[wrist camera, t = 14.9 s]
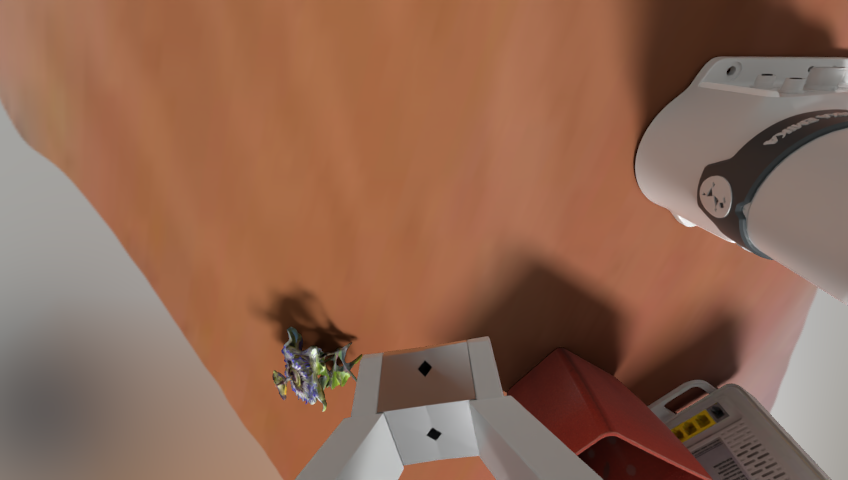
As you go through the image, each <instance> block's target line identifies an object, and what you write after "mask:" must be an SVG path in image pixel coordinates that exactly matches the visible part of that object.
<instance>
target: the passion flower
mask: <svg viewBox="0 0 848 480" xmlns="http://www.w3.org/2000/svg"><path fill="white" fill-rule="evenodd" d="M287 331H288V334H289V341H288V342H287V343H285V344H284V348H283V349H282V350H281V351H282V353H283V354H284V356H285V360H284V361H285V362H286V364H287V365H285V367H286V369H285V375H286V378H285V377H284V376H283V375H282V374H281V373H279V372H276V371H275V370H274V371H273V372H274V373H273V380H274V383H275V384H276V387H277V388H278V390H279V394H280V396H281V397H282V399H283V400H285V399H286V392H287V382H288V381H289V380H290V381H291V388H292V390H293V391H294V392H296V395H298V400H299V398H300V397H301V399H302V400H303V401H305V400H306V403H305V404H307V401H308V402H309V403H310V404H314V403H316V401H317V399H318V400H319V401H320V402H321V403H323V408H324V409H323V410H322V411H325V410H326V406H327V403H326V400H325V394H324V391H323V390H324V388H325V386H326V388H328V387H329V386H331V390H332V389H334V388H335V386H337V385H339V384H340V385H341V386H344V385H345V383H346V382H347V380H348V378H349V377H350V376H352V377H353V379H354V380H355V381H356V382H357V379H356V377H355V376H354V375H353V374H352V373H351V371H350V369H351V368H352V367H353V365H354V364H356V363H357V362H358V361H359V360H360V359H361V357H362V354H361V355H360V356H359V357H357V358H356V359H355V360H354V361H352V362H350V363H346V362H345V361H344V358H345V355H346V351H347V349H348V347H349V346H350V345H351V344H352V342H351V343H349V344H348V345H346V346H344V347H341V348H337V349H336V350H335V351H333V352H322V349H321V348H318V347H317V346H310V347H309V348H308V349H306V350H305V351H302V347H303V339H302V336H301V334H299V333H298V331H297V330H296V329H295V328H293V327H289V328H288V329H287ZM331 354H334V355H333V356H331V357H330V358H328V359H327V360H325V361H324V359H325V357H326V356H327V355H331ZM338 356H339V357H340V359H341V361H342V363H343V366H341V367H340V366H338V365H337V364H336V360H337V357H338ZM329 360H333V361H334V364H333V367H332V369H331V370H330V371H329V370H327V367H326V365H325V362H327V361H329ZM347 371H349V372H347ZM320 374H321V376H320V378H319V379H318V378H317V375H320ZM326 384H327V385H326ZM355 390H356V389H355Z"/></svg>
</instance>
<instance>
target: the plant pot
mask: <svg viewBox="0 0 848 480" xmlns="http://www.w3.org/2000/svg"><path fill="white" fill-rule="evenodd" d="M510 395H511V396H512V397H513V398H514V399H515V400H516V401H518V402H519V403H520V404H521V405H522V406H523V407H524V408H525V409H526V410H527V411H529V412H530V413H531V414H532V415H533V416H534V417H535V418H536V419H537V420H538V421H539V422H541V423H542V424H543V425H544V426H545V427H546V428H547V429H548V430H549V431H550V432H552V433H553V434H554V435H555V436H556V437H557V438H558V439H559V440H560V441H561V442H563V443H564V444H565V445H566V446H567V447H568V448H569V449H570V450H571V451H572V452H574V453H575V454H576V455H577V456H578V457H579V458H580V459H581V460H582V461H583V462H584V463H586V464H587V465H588V466H589V467H590V468H591V469H592V470H593V471H594V472H595V473H597V474H598V475H599V476H600V477H601V478H602V479H603V480H713V479H712V478H711V477H710V475H709V474H708V473H707V472H706V470H705V469H704V468H703V467H702V465H701V464H700V463H699V462H698V461H697V460H696V458H695V457H694V456H693V455H692V454H691V453H690V451H689V450H688V449H687V448H686V447H685V446H684V445H683V443H682V442H681V441H680V440H679V439H678V438H677V437H676V436H675V435H674V433H673V432H672V431H671V430H670V429H669V428H668V427H667V426H666V425H665V424H664V423H663V422H662V421H661V420H660V419H659V418H658V417H657V416H656V415H655V414H654V413H653V412H652V411H651V410H650V409H649V408H648V407H647V406H646V405H645V404H644V403H643V402H642V401H641V400H640V399H639V398H638V397H637V396H636V395H634V394H633V393H632V392H631V391H630V390H629V389H628V388H627V387H626V386H625V385H623V384H622V383H621V382H620V381H619V380H618V379H616V378H615V377H614V376H612V375H611V374H609V373H607V372H605V371H604V370H602V369H600V368H598V367H597V366H595V365H593V364H591V363H589V362H588V361H586V360H584V359H582V358H581V357H579V356H577V355H575V354H574V353H572V352H570V351H568V350H566V349H564V348H558V349H556V350H554V351H553V352H552V353H551V354H550V355H548V356H547V357H546V358H545V359H544V360H543V361H542V362H540V363H539V364H538V365H537V366H536V367H535V368H533V369H532V370H531V371H530V372H529V373H528V374H527V375H525V376H524V377H523V378H522V379H521V380H520V381H518V382H517V383H516V384H515V385H514V386H513V387H511V388H510V389H509V390H508V392H507V396H510Z"/></svg>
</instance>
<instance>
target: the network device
mask: <svg viewBox="0 0 848 480" xmlns="http://www.w3.org/2000/svg"><path fill="white" fill-rule="evenodd" d="M692 387H700V388H702V389H703V390H705V391H706V392H707V393H709V395H707V396H706V397H704V398H702V399H701V400H699V401H697V402H696V403H694V404H692V405H691V406H689V407H688V408H686V409H684V410H683V411H681V412H679V413H678V414H675V413H673V412H671V411H670V410H668V409H667V408H665V407H664V405H665V404H666V403H668V402H669V401H671V400H672V399H674V398H676V397H677V396H679V395H680V394H682V393H684V392H685V391H687V390H688V389H690V388H692ZM647 407H648V408H649V409H650V410H651V411H652V412H653V413H654V414H655V415H656V416H657V417H658V418H659V419H660V420H661V421H662V422H663V423H664V424H665V425H666V426H667V427H668V428H669V429H670V430H671V431H672V432H673V433H674V435H675V436H676V437H677V438H678V439H679V440H680V441H681V442H682V443H683V445H684V446H685V447H686V448H687V449H688V450H689V451H690V453H691V454H692V455H693V456H694V457H695V458H696V460H697V461H698V462H699V463H700V464H701V465H702V467H703V468H704V469H705V470H706V472H707V473H708V474H709V475H710V477H711V478H712V479H713V480H831V479H830V478H829V477H828V475H827V474H826V473H825V472H824V471H823V470H822V469H821V468H820V467H819V466H818V465H817V464H816V463H815V461H814V460H813V459H812V458H811V457H810V456H809V455H808V454H807V453H806V452H805V451H804V450H803V449H802V448H801V446H800V445H798V443H797V442H796V441H795V440H794V439H793V438H792V437H791V436H790V435H789V434H788V433H787V432H786V431H785V429H784V428H783V427H782V426H781V425H780V424H779V423H778V422H777V421H776V420H775V419H774V418H773V417H772V415H771V414H770V413H769V412H768V411H767V410H766V409H765V408H764V407H763V406H762V405H761V404H760V403H759V402H758V401H757V399H756V398H755V397H753V396H752V395H751V394H750V393H748V392H747V391H746V390H744V389H743V388H742V387H740V386H739V385H736V384H726V385H724V386H722V387H721V388H719V389H716V388H714V387H713V386H712V385H710V384H709V383H708V382H706V381H704V380H692V381H688V382H686V383H684V384H682V385H680V386H679V387H677V388H676V389H674V390H672V391H671V392H669V393H668V394H666V395H664V396H663V397H661V398H660V399H658V400H657V401H655V402H653V403H652V404H650V405H649V406H647Z"/></svg>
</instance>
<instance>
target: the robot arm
mask: <svg viewBox="0 0 848 480" xmlns="http://www.w3.org/2000/svg"><path fill="white" fill-rule="evenodd" d="M729 68H731V69H730V72H729V73H728V74H727V70H728V69H729ZM635 173H636V179H637V182H638V185H639V187H640V189H641V191H642V192H643V194H644V195H645V196H646V197H647V198H648V199H649V200H651V201H652V202H654V203H655V204H657V205H659V206H662V207H664V208H666V209H668V210H670V211H671V213H672V214H673V216H674V217H675V218H676V220H677V221H678V222H679V223H681V224H683V225H685V226H687V227H693V226H696V225H697V226H699V227H701V228H703V229H705V230H707V231H709V232H711V233H713V234H715V235H717V236H719V237H721V238H723V239H725V240H727V241H729V242H732V243H736V244H737V245H738V246H740V247H742V248H743V249H745V250H747V251H749V252H753V253H754V254H756V255H758V256H760V257H763V258H766V259H770V260H775V261H777V262H779V263H780V264H782V265H783V266H785V267H786V268H788V269H790V270H791V271H793V272H794V273H796V274H798V275H799V276H801V277H802V278H804V279H806V280H807V281H809V282H810V283H812V284H814V285H815V286H817V287H818V288H820V289H822V290H823V291H825V292H827V293H828V294H830V295H831V296H833V297H834V298H836V299H838V300H839V301H841V302H842V303H844V304H846V305H848V58H847V57H731V56H720V57H715V58H713V59H711V60H710V61H708V62H707V63H706V64H705V65H704V67H703V68H702V69H701V70H700V72H699V73H698V74H697V76H696V77H695V79H694V80H693V82H692V83H691V85H690V86H689V87H688V88H687V89H686V90H685V91H684V92H683V93H681V94H680V95H679V96H678V97H676V98H675V99H674V100H673V101H671V102H670V103H669V104H668V105H667V106H666V107H665V108H664V109H663V110H662V111H661V112H660V113H659V114H658V115H657V116H656V117H655V119H654V120H653V121H652V123H651V124H650V125H649V127H648V129H647V130H646V132H645V134H644V136H643V138H642V140H641V142H640V145H639V148H638V151H637V155H636V162H635ZM467 344H468V345H467ZM471 456H480V458H481V459H482V461H483V462H484V463H485V465H486V466H487V468H488V469H489V470H490V472H491V473H492V474H493V476H494V477H495V478H496V480H603V479H602V478H601V477H600V476H599V475H598V474H597V473H595V472H594V471H593V470H592V469H591V468H590V467H589V466H588V465H587V464H586V463H584V462H583V461H582V460H581V459H580V458H579V457H578V456H577V455H576V454H575V453H574V452H572V451H571V450H570V449H569V448H568V447H567V446H566V445H565V444H564V443H563V442H561V441H560V440H559V439H558V438H557V437H556V436H555V435H554V434H553V433H552V432H550V431H549V430H548V429H547V428H546V427H545V426H544V425H543V424H542V423H541V422H539V421H538V420H537V419H536V418H535V417H534V416H533V415H532V414H531V413H530V412H529V411H527V410H526V409H525V408H524V407H523V406H522V405H521V404H520V403H519V402H518V401H516V400H515V399H514V398H513V397H512V396H511V395H510V396H504V395H503V391H502V386H501V382H500V378H499V374H498V370H497V366H496V362H495V358H494V354H493V349H492V345H491V341H490V339H489V337H488V336H486V337H480V338H474V339H468V340H462V341H456V342H450V343H443V344H437V345H431V346H426V347H420V348H412V349H404V350H396V351H388V352H384V353H375V354H367V355H363V357H362V359H361V361H360V367H359V373H358V378H357V384H356V390H355V395H354V401H353V407H352V413H351V417H350V418H344V419H343V420H342V422H341V423H340V424H339V425H338V427H337V428H336V429H335V430H334V432H333V433H332V434H331V435H330V437H329V438H328V439H327V440H326V441H325V443H324V444H323V445H322V446H321V448H320V449H319V450H318V451H317V453H316V454H315V455H314V456H313V458H312V459H311V460H310V461H309V462H308V464H307V465H306V466H305V467H304V469H303V470H302V471H301V472H300V474H299V475H298V476H297V477H296V479H295V480H398V479H399V477H400V475H401V473H402V471H403V469H404V467H403V465H409V464H415V463H421V462H428V461H434V460H440V459H450V458H461V457H471Z"/></svg>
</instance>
